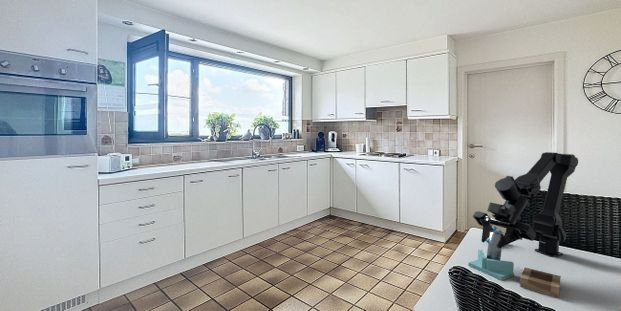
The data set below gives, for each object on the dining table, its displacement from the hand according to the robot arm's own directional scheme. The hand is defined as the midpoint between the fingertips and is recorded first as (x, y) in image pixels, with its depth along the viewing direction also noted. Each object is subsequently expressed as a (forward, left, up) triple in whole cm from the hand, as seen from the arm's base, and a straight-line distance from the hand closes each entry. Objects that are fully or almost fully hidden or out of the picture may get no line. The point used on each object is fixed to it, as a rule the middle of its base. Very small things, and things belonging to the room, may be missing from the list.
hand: (490, 244), depth 99 cm
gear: (-23, -17, -10) cm, 30 cm away
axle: (-1, 0, -8) cm, 8 cm away
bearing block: (-6, +12, -9) cm, 17 cm away
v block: (-1, 0, -9) cm, 9 cm away
